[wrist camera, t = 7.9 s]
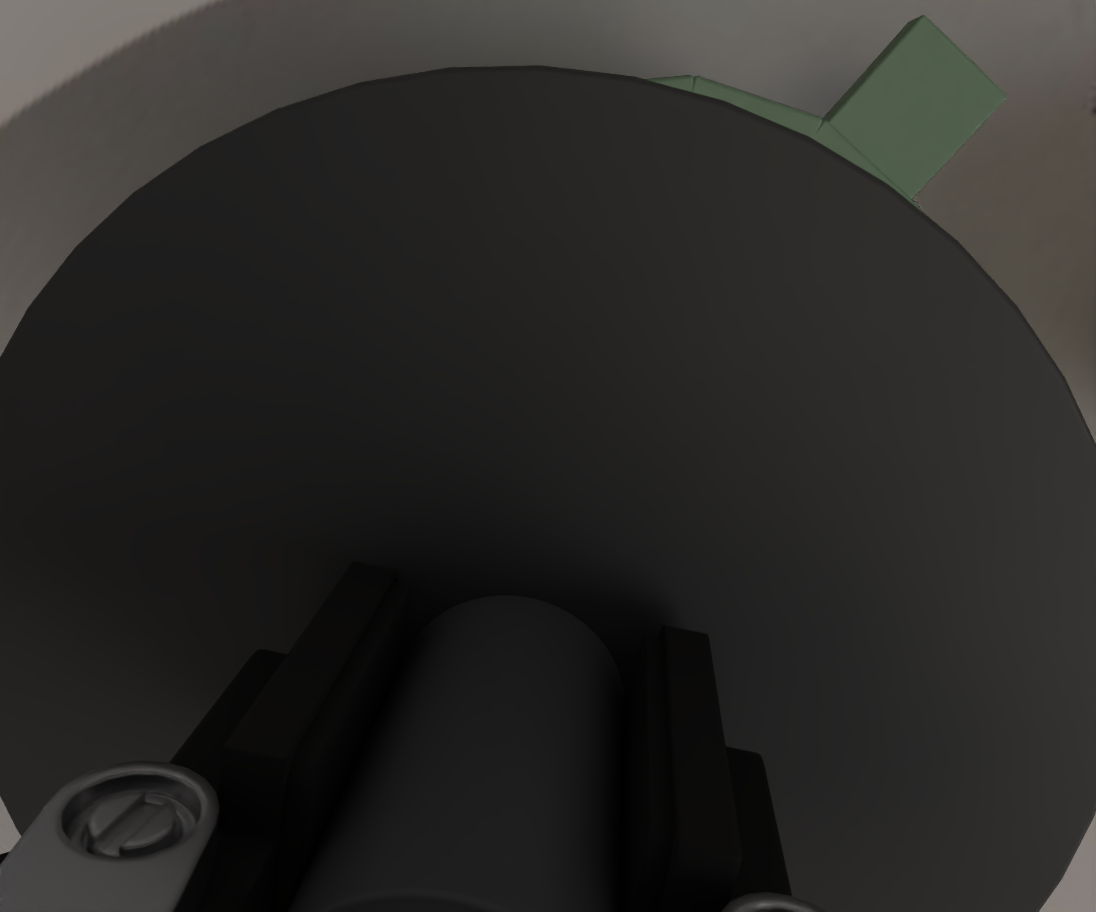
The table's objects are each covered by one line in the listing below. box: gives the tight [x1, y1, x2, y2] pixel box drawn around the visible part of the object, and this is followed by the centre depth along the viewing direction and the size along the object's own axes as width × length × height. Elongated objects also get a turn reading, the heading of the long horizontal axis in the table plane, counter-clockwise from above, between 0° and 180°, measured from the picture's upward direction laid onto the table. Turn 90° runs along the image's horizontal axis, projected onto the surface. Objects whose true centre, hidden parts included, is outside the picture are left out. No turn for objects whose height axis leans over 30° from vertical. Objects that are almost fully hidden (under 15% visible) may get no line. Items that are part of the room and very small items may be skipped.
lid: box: [0, 66, 1096, 912], centre depth 10 cm, size 15×15×6 cm
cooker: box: [645, 15, 1007, 211], centre depth 26 cm, size 14×19×10 cm
